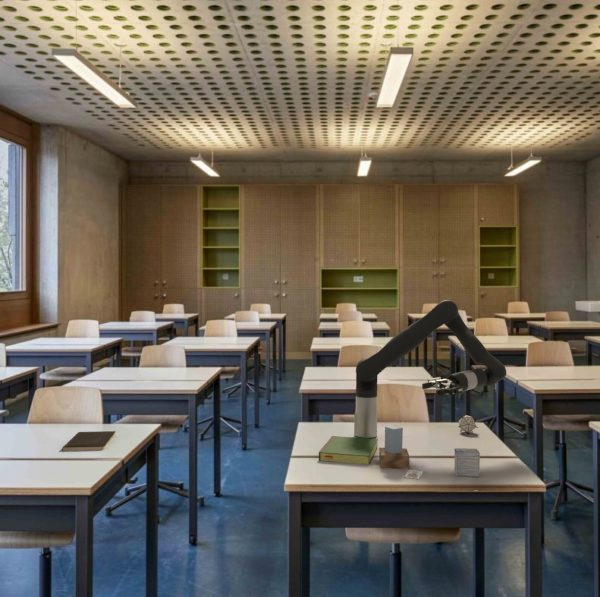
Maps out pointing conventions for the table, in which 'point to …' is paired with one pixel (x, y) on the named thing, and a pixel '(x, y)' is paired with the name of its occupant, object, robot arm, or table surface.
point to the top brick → (393, 439)
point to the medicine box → (467, 462)
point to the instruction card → (413, 474)
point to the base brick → (394, 459)
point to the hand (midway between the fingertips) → (429, 389)
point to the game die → (467, 423)
